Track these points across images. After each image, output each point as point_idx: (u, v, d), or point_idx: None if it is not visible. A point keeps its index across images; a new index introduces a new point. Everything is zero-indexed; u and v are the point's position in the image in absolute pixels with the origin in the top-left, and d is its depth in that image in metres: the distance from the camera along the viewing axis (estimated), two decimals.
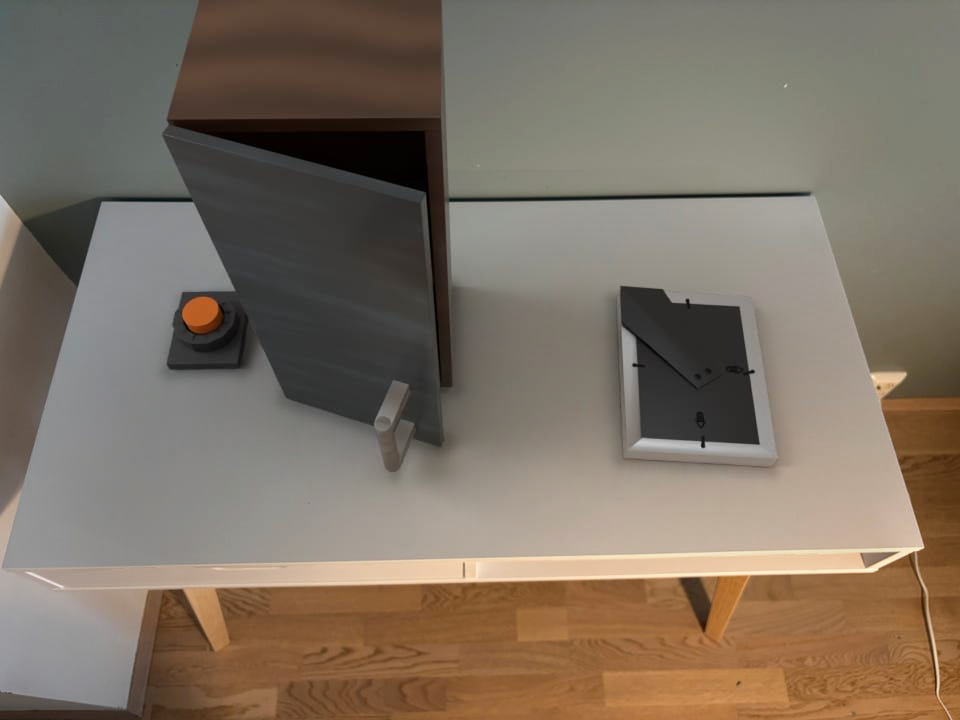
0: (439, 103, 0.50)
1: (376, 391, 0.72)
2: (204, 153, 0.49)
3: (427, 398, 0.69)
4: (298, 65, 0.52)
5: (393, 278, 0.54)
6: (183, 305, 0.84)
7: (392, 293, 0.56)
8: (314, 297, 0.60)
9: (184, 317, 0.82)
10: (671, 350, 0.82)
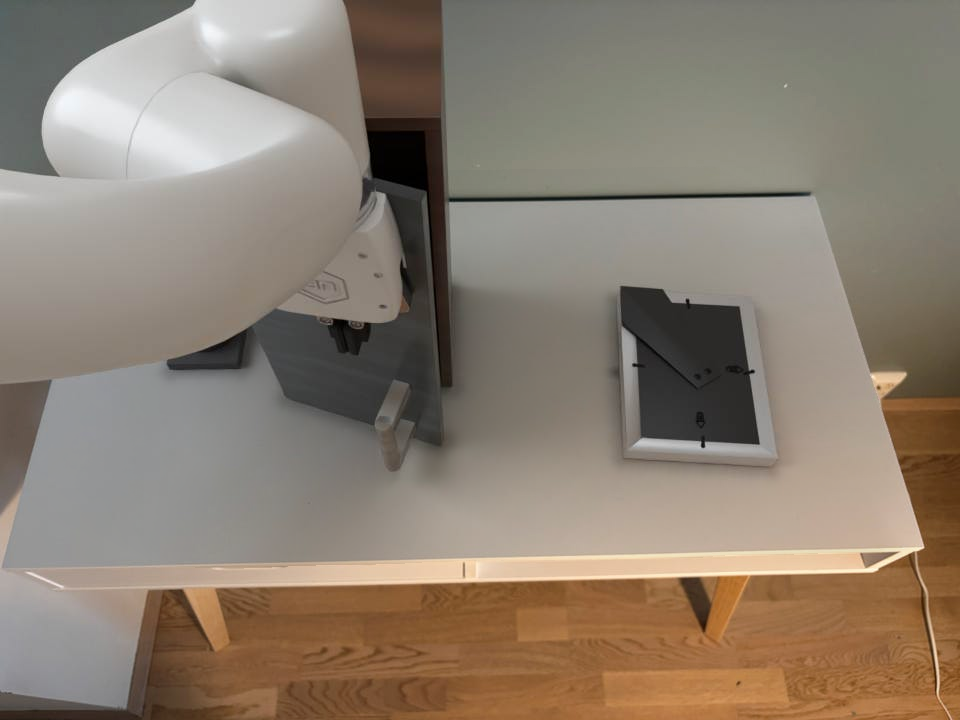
0: (439, 103, 0.50)
1: (376, 391, 0.72)
2: None
3: (427, 398, 0.70)
4: None
5: None
6: None
7: None
8: None
9: None
10: (671, 350, 0.82)
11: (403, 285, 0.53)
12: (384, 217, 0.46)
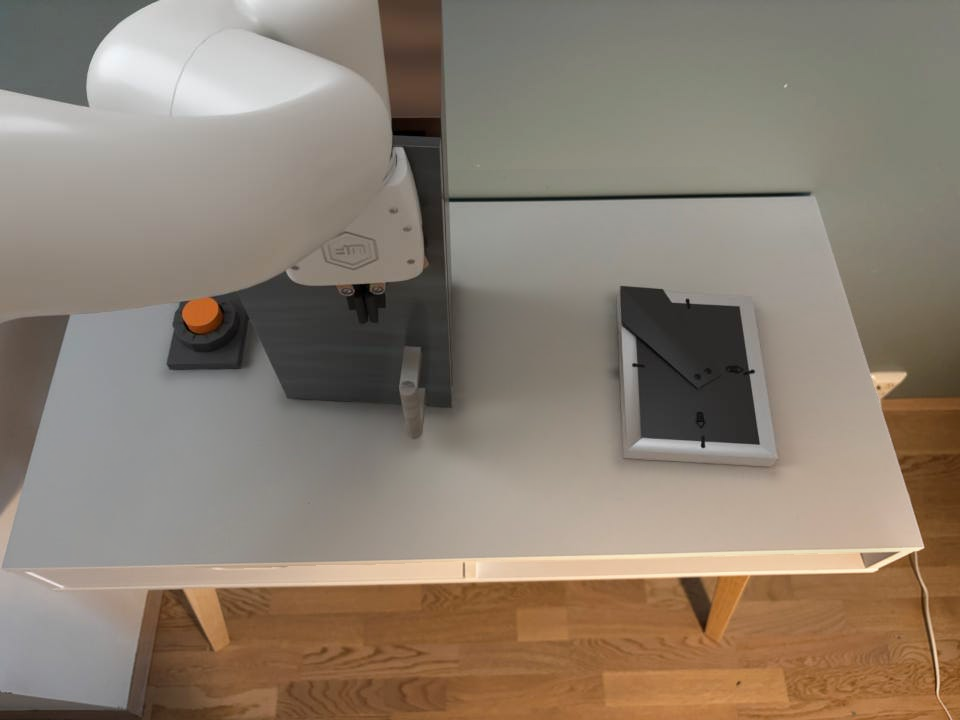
0: (439, 103, 0.50)
1: (385, 364, 0.74)
2: None
3: (439, 357, 0.72)
4: None
5: None
6: (183, 305, 0.84)
7: None
8: None
9: (184, 317, 0.82)
10: (671, 350, 0.82)
11: None
12: (408, 170, 0.48)
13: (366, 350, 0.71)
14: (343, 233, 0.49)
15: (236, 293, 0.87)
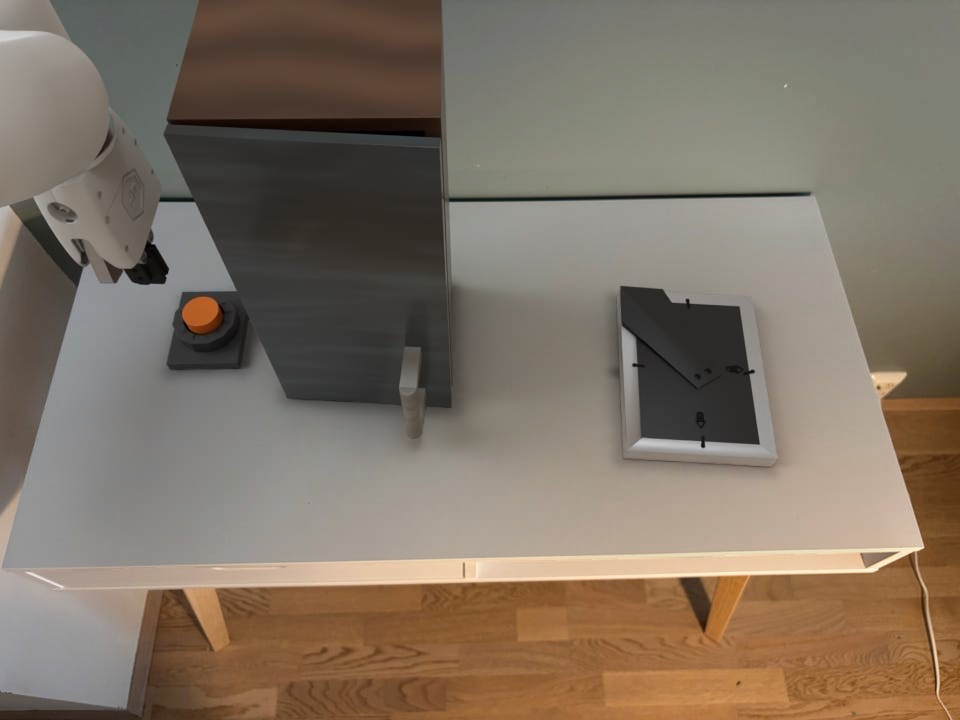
0: (439, 103, 0.50)
1: (385, 364, 0.74)
2: (211, 145, 0.49)
3: (439, 357, 0.72)
4: (298, 65, 0.52)
5: (408, 235, 0.56)
6: (183, 305, 0.84)
7: (406, 252, 0.58)
8: (324, 276, 0.61)
9: (184, 317, 0.82)
10: (671, 350, 0.82)
11: None
12: None
13: (366, 350, 0.71)
14: (123, 180, 0.58)
15: (236, 293, 0.87)
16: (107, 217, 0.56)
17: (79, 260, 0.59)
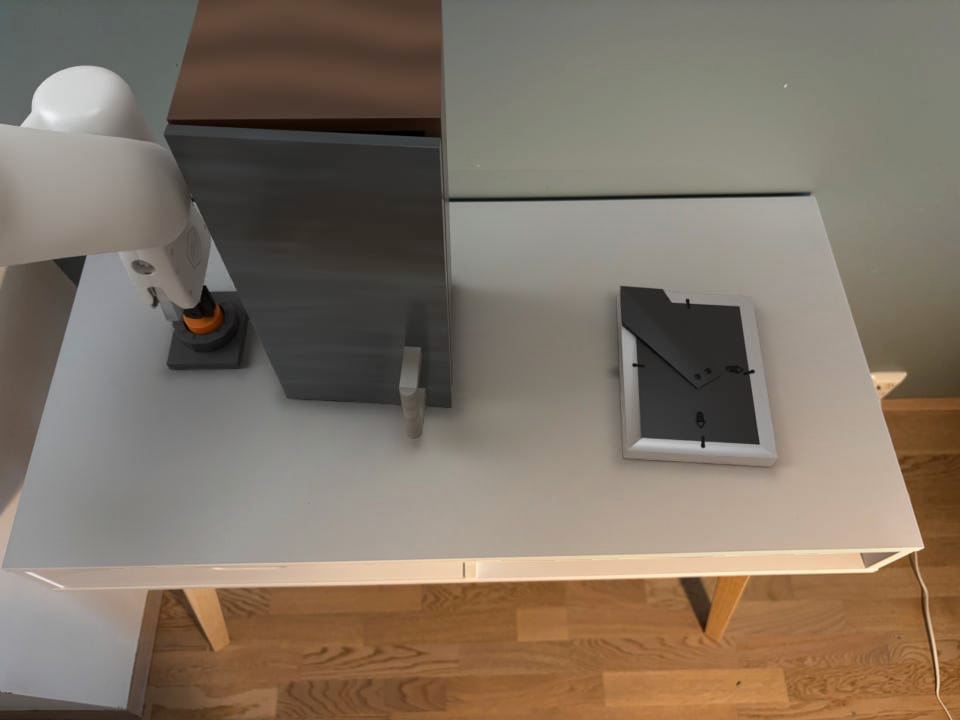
0: (439, 103, 0.50)
1: (385, 364, 0.74)
2: (211, 145, 0.49)
3: (439, 357, 0.72)
4: (298, 65, 0.52)
5: (408, 235, 0.56)
6: None
7: (406, 252, 0.58)
8: (324, 276, 0.61)
9: (185, 319, 0.82)
10: (671, 350, 0.82)
11: None
12: None
13: (366, 350, 0.71)
14: (187, 237, 0.71)
15: (236, 293, 0.87)
16: (177, 268, 0.69)
17: (152, 303, 0.72)
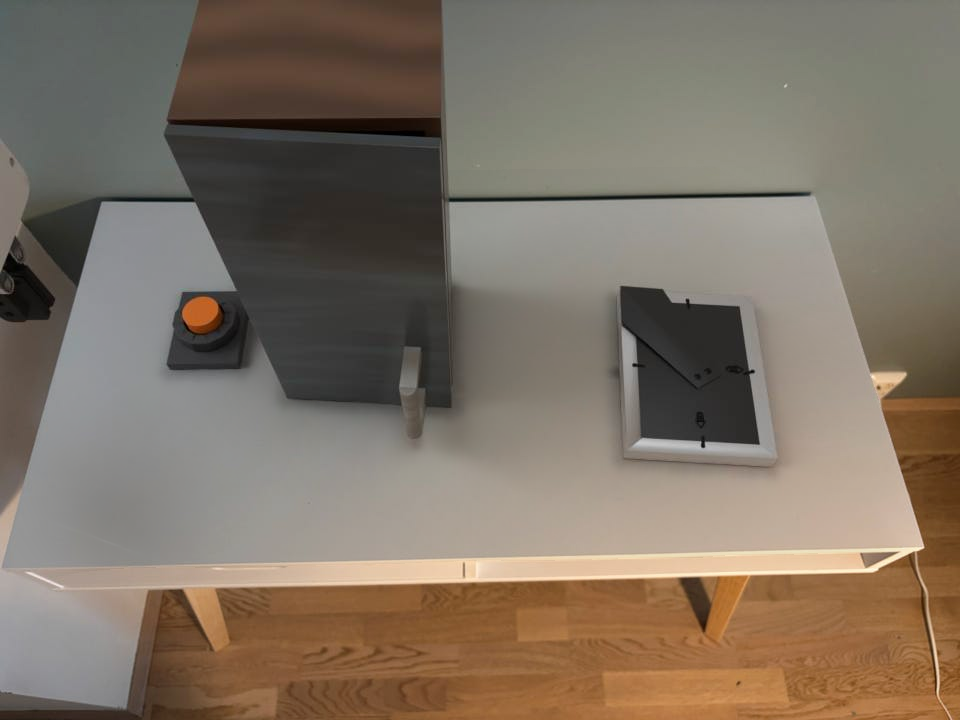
0: (439, 103, 0.50)
1: (385, 364, 0.74)
2: (211, 145, 0.49)
3: (439, 357, 0.72)
4: (298, 65, 0.52)
5: (408, 235, 0.56)
6: (183, 305, 0.84)
7: (406, 252, 0.58)
8: (324, 276, 0.61)
9: (184, 317, 0.82)
10: (671, 350, 0.82)
11: None
12: None
13: (366, 350, 0.71)
14: None
15: (236, 293, 0.87)
16: None
17: None
